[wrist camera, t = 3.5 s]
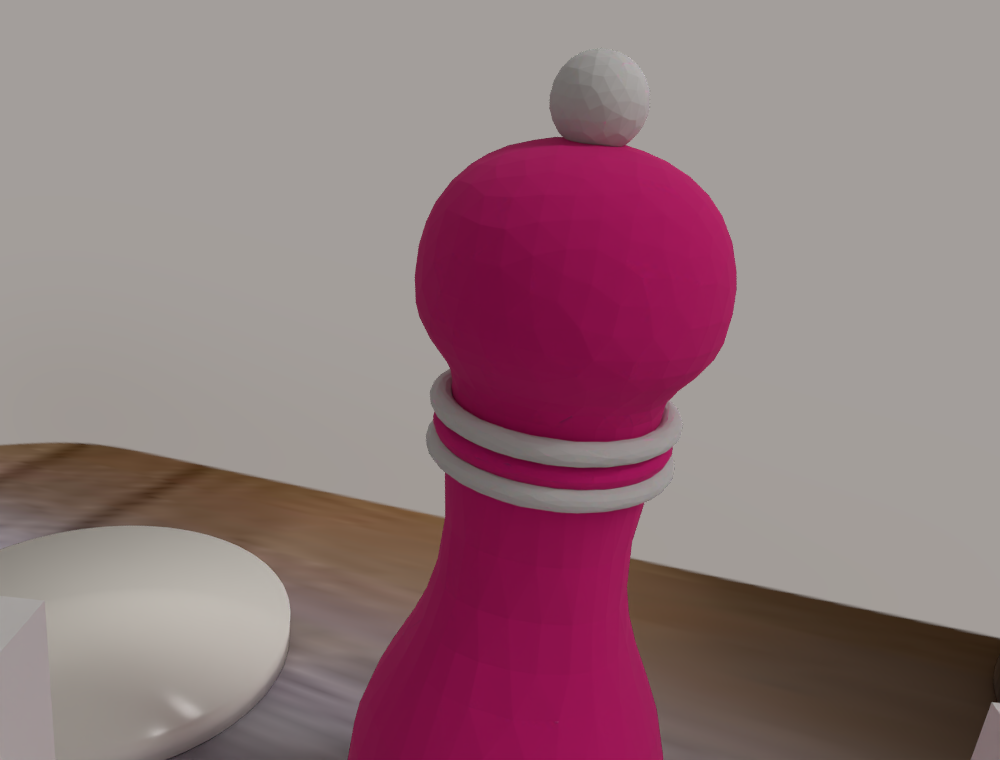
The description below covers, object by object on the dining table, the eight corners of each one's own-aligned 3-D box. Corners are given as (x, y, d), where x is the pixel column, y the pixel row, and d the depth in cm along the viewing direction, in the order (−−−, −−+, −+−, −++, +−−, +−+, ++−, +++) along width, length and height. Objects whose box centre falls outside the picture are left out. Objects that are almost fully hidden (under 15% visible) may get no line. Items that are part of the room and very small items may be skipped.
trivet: (322, 567, 36) (323, 545, 36) (228, 805, 25) (229, 776, 24) (15, 532, 36) (13, 510, 35) (-221, 756, 24) (-227, 726, 24)
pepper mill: (380, 767, 26) (443, 31, 20) (630, 815, 26) (784, 71, 19) (294, 1009, 20) (345, 15, 13) (629, 1083, 19) (868, 77, 12)
